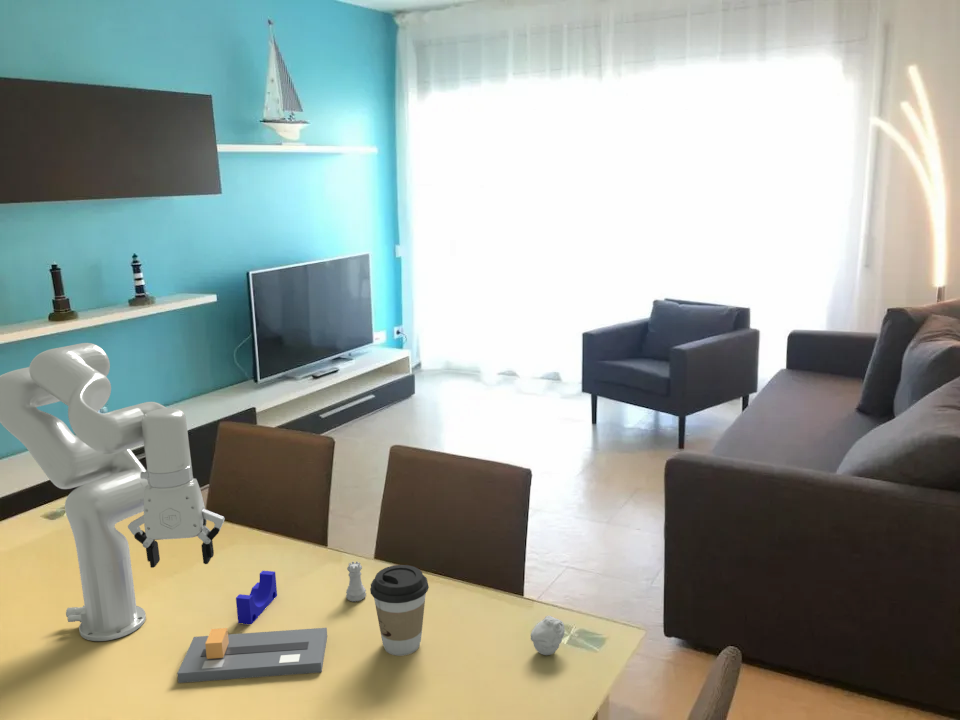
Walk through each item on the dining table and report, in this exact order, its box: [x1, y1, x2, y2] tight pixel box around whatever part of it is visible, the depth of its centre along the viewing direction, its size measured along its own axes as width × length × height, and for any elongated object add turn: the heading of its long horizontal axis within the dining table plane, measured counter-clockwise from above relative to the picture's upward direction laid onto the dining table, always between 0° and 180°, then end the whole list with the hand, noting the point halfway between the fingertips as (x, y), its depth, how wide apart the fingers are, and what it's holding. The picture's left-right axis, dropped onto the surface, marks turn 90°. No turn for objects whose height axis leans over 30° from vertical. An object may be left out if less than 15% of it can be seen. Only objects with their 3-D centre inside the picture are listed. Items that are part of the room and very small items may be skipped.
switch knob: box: [205, 627, 229, 659], centre depth 150 cm, size 3×5×3 cm, turn 6°
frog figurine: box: [530, 615, 566, 656], centre depth 151 cm, size 6×7×7 cm
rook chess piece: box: [345, 560, 367, 603], centre depth 173 cm, size 4×4×8 cm
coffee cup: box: [369, 564, 430, 657], centre depth 153 cm, size 11×11×15 cm
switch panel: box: [176, 627, 328, 684], centre depth 151 cm, size 26×12×2 cm, turn 96°
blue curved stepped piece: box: [235, 570, 278, 625], centre depth 169 cm, size 12×4×6 cm, turn 168°
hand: (181, 562), depth 147 cm, fingers open, 9 cm apart
